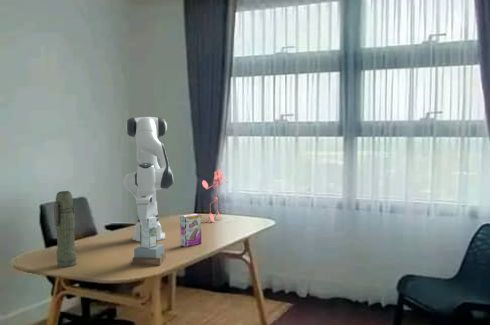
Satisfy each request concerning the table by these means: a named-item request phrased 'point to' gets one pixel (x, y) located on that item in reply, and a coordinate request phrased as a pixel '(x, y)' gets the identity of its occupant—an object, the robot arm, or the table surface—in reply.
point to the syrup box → (148, 233)
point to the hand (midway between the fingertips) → (147, 226)
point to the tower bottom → (149, 260)
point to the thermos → (65, 229)
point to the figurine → (218, 181)
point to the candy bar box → (190, 230)
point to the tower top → (149, 251)
